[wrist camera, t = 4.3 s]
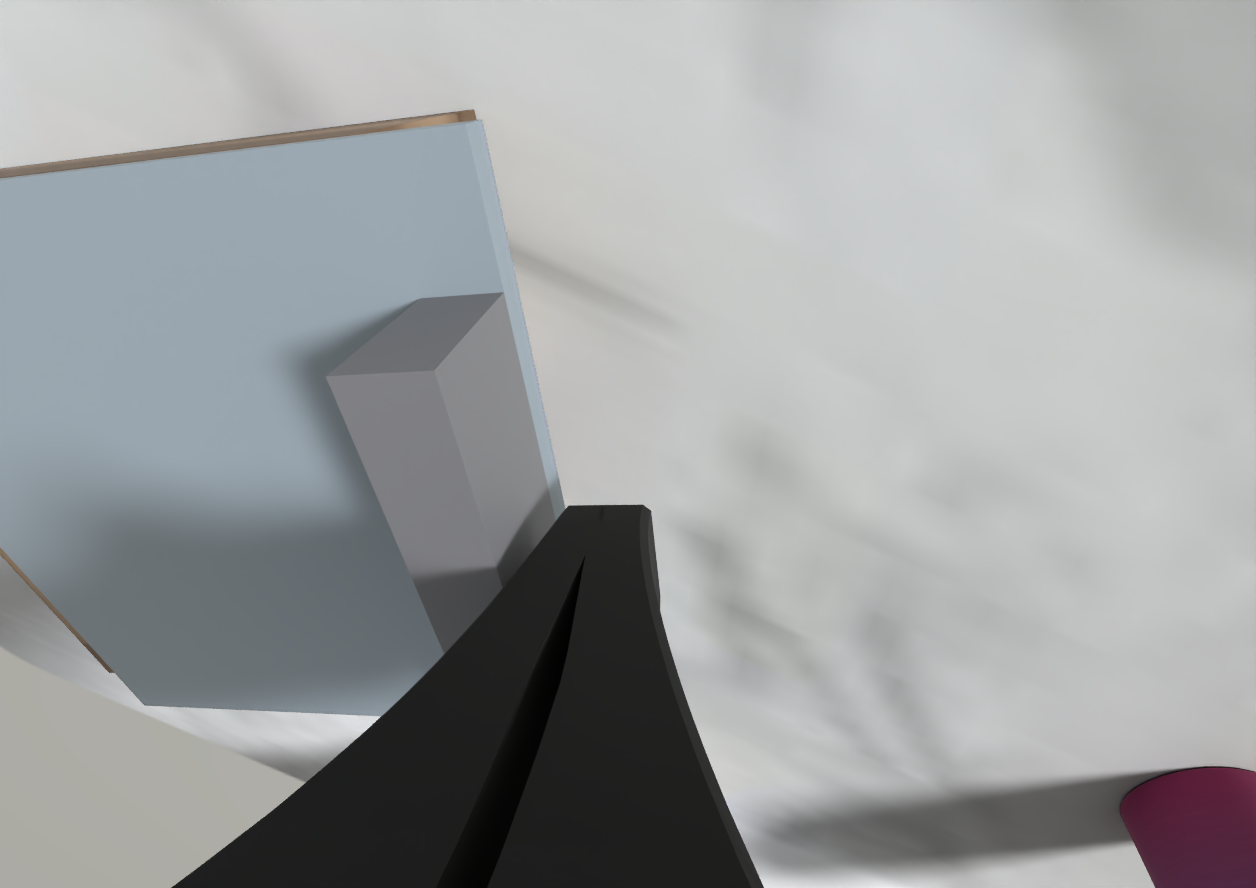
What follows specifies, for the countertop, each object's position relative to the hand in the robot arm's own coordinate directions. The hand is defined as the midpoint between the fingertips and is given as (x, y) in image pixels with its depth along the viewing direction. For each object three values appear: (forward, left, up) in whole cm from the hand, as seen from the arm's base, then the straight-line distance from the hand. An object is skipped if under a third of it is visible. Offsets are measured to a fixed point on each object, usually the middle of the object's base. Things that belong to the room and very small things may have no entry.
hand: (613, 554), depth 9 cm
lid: (0, +7, -1) cm, 7 cm away
